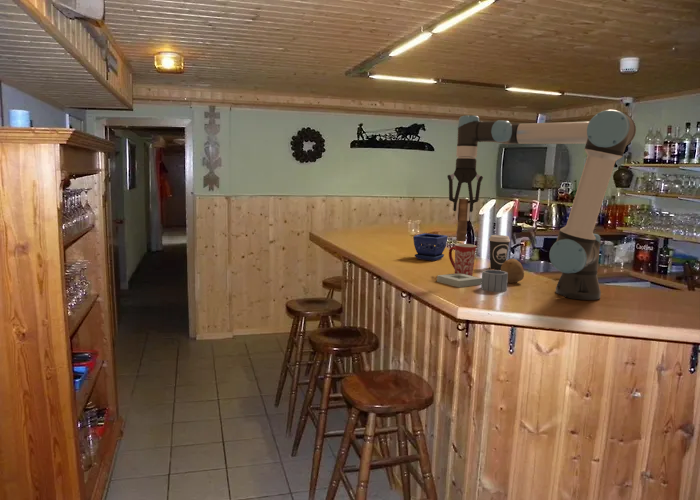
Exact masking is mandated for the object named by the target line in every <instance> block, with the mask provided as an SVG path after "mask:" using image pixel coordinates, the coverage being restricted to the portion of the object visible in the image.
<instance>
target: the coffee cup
mask: <svg viewBox="0 0 700 500" xmlns="http://www.w3.org/2000/svg"><path fill="white" fill-rule="evenodd" d="M488 241H489V263H490V264H489V265H490V267H489V268H490V270H500V271H501V266H502V264H503V263H504V262H505V261H506V260H508V251H509V246H510V242H511V239H510V237H509V235H501V234H491V235H490V237H489V238H488Z"/></svg>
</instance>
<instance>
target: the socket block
mask: <svg viewBox="0 0 700 500" xmlns="http://www.w3.org/2000/svg"><path fill="white" fill-rule="evenodd" d="M436 282H437V283H441V284H444V285H448V286H452V287H454V288H465V287H473V286H479V285H480V286H481V282H482V277H477V276H473V275H472V276H470V275H466V274H461V273H455V272H454V273H447V274H446V273H445V274H439V275H437V276H436Z"/></svg>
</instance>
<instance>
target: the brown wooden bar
mask: <svg viewBox="0 0 700 500" xmlns="http://www.w3.org/2000/svg"><path fill="white" fill-rule="evenodd" d="M469 201H470V198H469V199H468V198H458V203H459V210H458V220H457V225H456V226H457V228H456V229H457V230H456V241H457V242H466V241H467V232H468V231H467V228H468V221H467V209H468V203H469Z"/></svg>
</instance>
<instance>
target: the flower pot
mask: <svg viewBox="0 0 700 500" xmlns="http://www.w3.org/2000/svg"><path fill="white" fill-rule="evenodd" d="M447 242H448V235H444V234H435V233H426V232H425V233H421V234H417V235H414V236H413V245H414V249H415V251H416V253H415V254H414V257H415V258H416V259H418V260H425V261H430V260H431V262H433V261H438V260H442V259H443V258H444V256H445V254H444V251H445V250H446V249H445V248H446V246H447Z"/></svg>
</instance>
